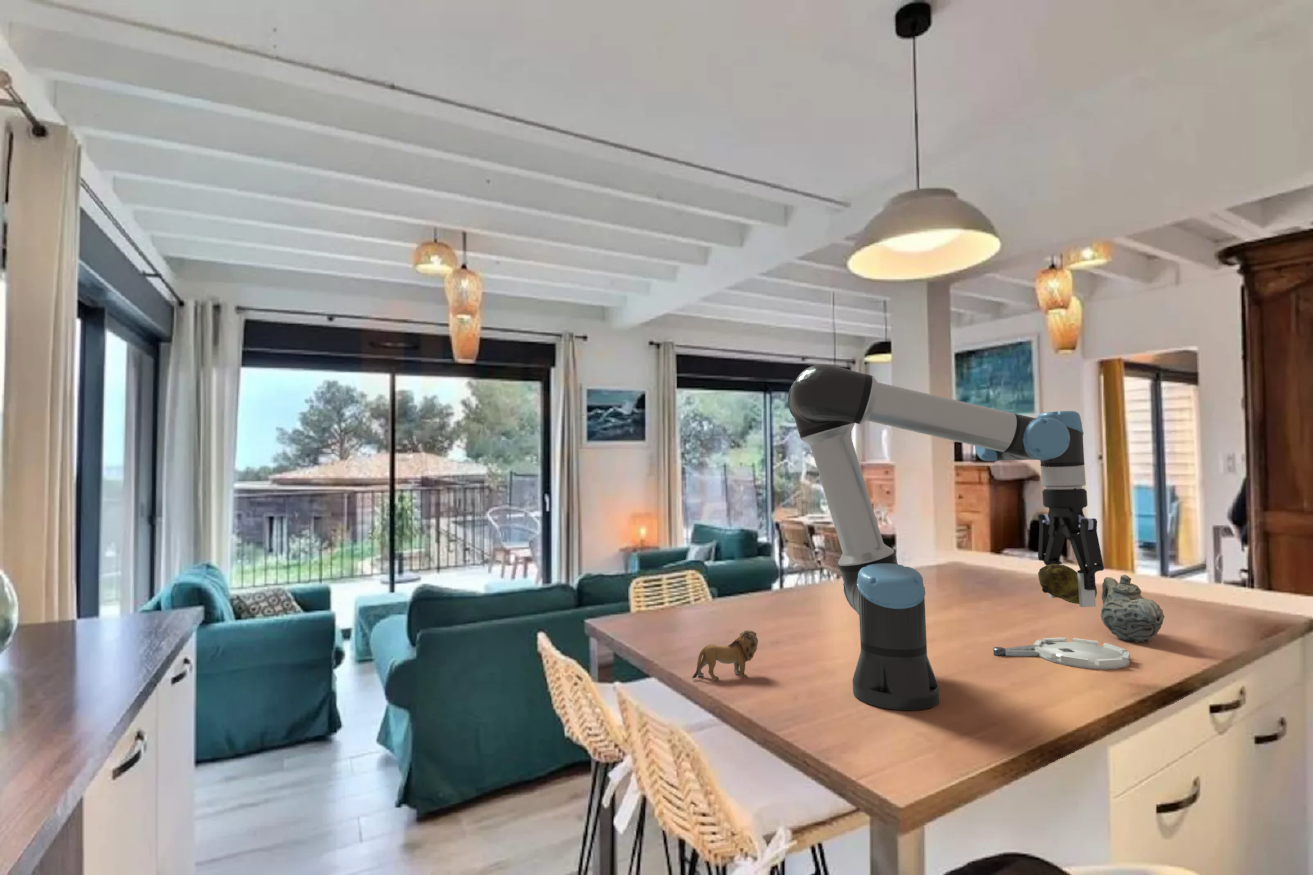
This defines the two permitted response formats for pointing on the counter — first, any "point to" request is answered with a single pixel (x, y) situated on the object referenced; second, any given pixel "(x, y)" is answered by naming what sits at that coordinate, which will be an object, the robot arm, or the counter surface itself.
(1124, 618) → the teapot
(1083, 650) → the plate
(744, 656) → the lion figurine
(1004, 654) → the open tongs prop
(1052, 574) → the potato
